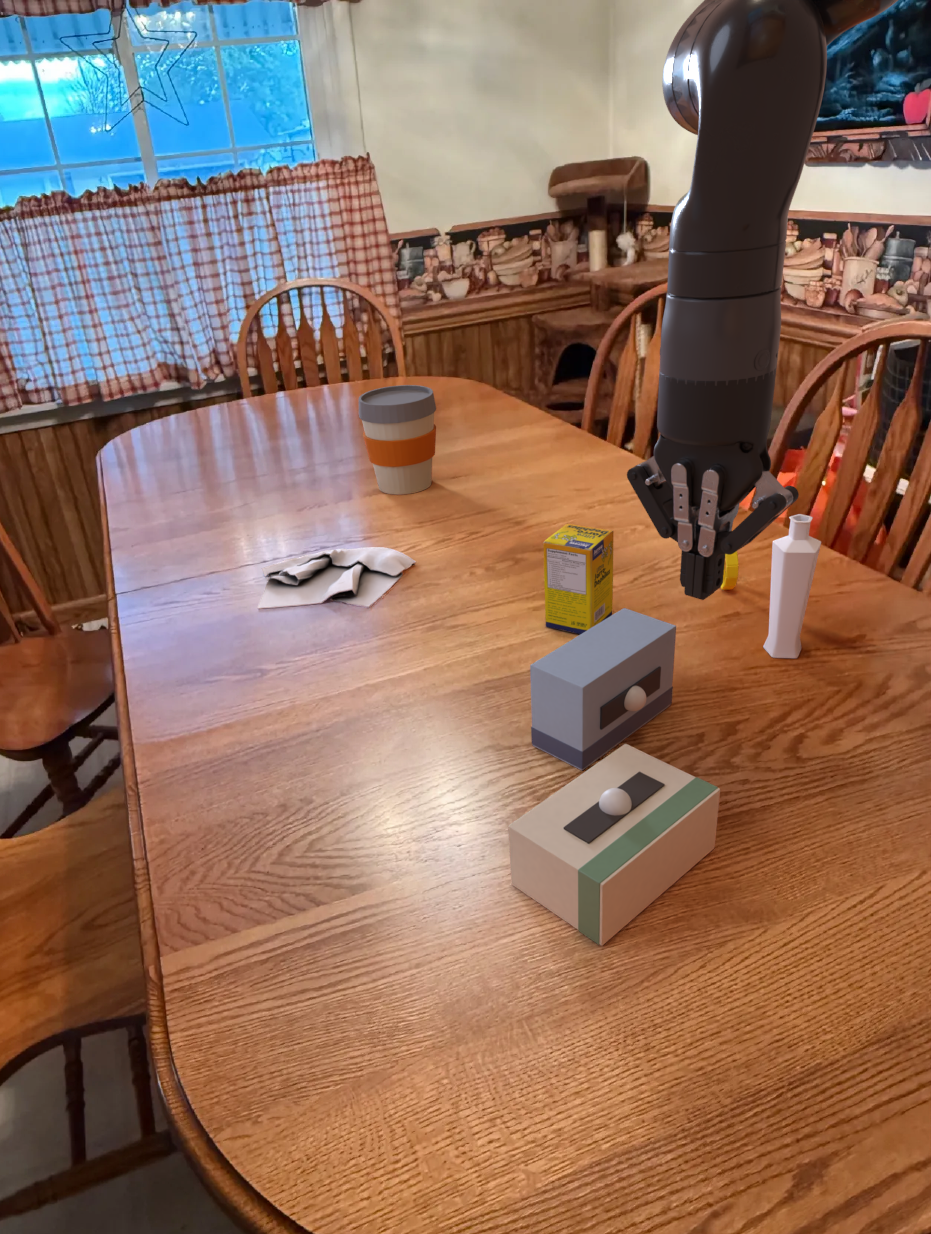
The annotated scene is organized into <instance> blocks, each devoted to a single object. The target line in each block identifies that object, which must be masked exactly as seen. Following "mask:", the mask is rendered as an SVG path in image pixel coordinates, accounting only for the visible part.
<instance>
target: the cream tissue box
mask: <svg viewBox="0 0 931 1234" xmlns="http://www.w3.org/2000/svg"><path fill="white" fill-rule="evenodd" d="M720 796H721V788H720V787H718V786H717V785H714V784H712V783H710V782H709V781H706V780H704V779H702V778H700V777H698V776H694V775H692V774H690V773H688V772H686V771H684V770H681V769H679V768H677V767H675V766H674V765H671V764H669V763H667V762H666V761H663V760H661V759H659V758H656V757H654V756H653V755H650V754H648V753H646V752H644V751H642V750H640V749H638V748H636V747H633V746H632V745H629V744H627V743H623V744H622V745H621V746H620V747H618V748H617V749H615V750H614V751H612V752H611V753H610V754H609V755H607V756H605V757H604V758H603V759H601V760H599V761H598V762H597V763H595V764H594V765H593V766H591V767H590V768H589V769H587V770H586V771H584V772H582V773H581V774H580V775H578V776H577V777H576V778H574V779H572V780H571V781H570V782H568V783H567V784H565V785H564V786H563V787H561V788H560V789H559V790H556V791H555V792H554V793H553V794H551V795H549V796H548V797H547V798H545V799H544V800H543V801H541V802H539V804H536V805H535V806H534V807H533V808H531V809H530V810H528V811H527V812H526V813H524V814H522V815H521V816H520V817H518V818H517V819H516V820H514V821H512V822H511V823H510V824H508V825H507V835H508V850H509V851H508V852H509V853H508V854H509V868H510V870H509V871H510V883H511V885H512V886H513V887H515V888H516V889H517V890H519V891H521V892H522V893H523V894H525V895H526V896H528V897H529V898H531V900H534V901H535V902H537V903H538V904H539V905H541V906H543V907H544V908H545V909H546V910H548V911H550V912H551V913H553V914H554V915H556V916H557V917H558V918H560V919H561V920H563V921H564V922H566V923H567V924H569V925H570V926H571V927H573V928H574V929H576V930H577V931H578V932H579V933H580V934H582V935H584V936H585V937H586V938H588V939H589V940H591V941H592V942H593V943H595V944H596V945H598V946H601V947H603V946H604V945H605V944H606V943H607V942H609V941H610V940H611V939H612V938H613V937H614V936H615V935H616V934H618V933H619V932H620V931H621V930H622V929H623V928H625V926H627V925H628V924H630V923H631V921H633V920H634V919H635V918H636V917H637V916H639V914H641V913H642V912H643V911H644V910H645V909H646V908H647V907H649V906H650V905H652V903H653V902H654V901H656V900H657V899H658V898H659V897H660V896H661V895H662V894H664V893H665V892H666V891H667V890H668V889H669V888H670V887H672V886H673V885H674V884H675V883H676V882H677V881H679V880H680V879H681V878H682V877H683V876H684V875H685V874H687V873H688V872H689V871H690V870H691V869H692V868H694V867H695V866H696V865H697V864H698V863H699V862H700V861H701V860H702V859H704V858H705V857H706V856H707V855H708V854H709V853H710V852H712V851H713V850H714V849H715V848H716V840H717V839H716V838H717V828H718V827H717V826H718V819H719V817H718V816H719V807H720V798H721V797H720Z"/></svg>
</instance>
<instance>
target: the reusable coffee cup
mask: <svg viewBox="0 0 931 1234" xmlns="http://www.w3.org/2000/svg"><path fill="white" fill-rule="evenodd" d="M436 411H437V405H436V400H435V394H434V390H433V389H432V388H431V387H428V386H424V385H417V384H403V385H401V384H400V385H391V386H384V387H379V388H375V389H372V390H368V391H365V392H364V393H362V394H361V395H359V396H358V418H359V419H360V420H361V423H362V426H363V430H364V431H363V432H362V436H363V440H364V444H365V445H364V446H365V448H366V453H367V456H368V460H369V462H370V463H371V464H372V466H373V470H374V474H375V478H376V482H377V486H378V490H379V491H380V492H381V493H384V494H389V495H411V494H416V493H419V492H422V491H424V490H426V489H428V488H430V487H431V485H432V482H433V481H432V480H433V479H432V478H433V458H434V456H435V455H436V440H437V439H436V438H437V426H436V424H435V412H436Z"/></svg>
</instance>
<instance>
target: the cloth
mask: <svg viewBox="0 0 931 1234" xmlns="http://www.w3.org/2000/svg"><path fill="white" fill-rule="evenodd" d="M416 564H417V561H416V560H415V559H413V558H412V557H410V556H409V555H407V554H405V553H403V552H402V551H399V550H397V549H394V548H390V547H384V546H375V547H374V546H370V547H367V546H366V547H365V546H363V547H362V546H361V547H358V548H349V549H348V548H336V549H326V550H321V551H318V552H316V553H310V554H304V555H302V556H299V557H294V558H287V559H285V560H282V561H279V562H277V563H272V564H270V565H267V566H265V567H261V571H262V574H263V575H264V578H266V577H267V576H270V578H268V579H267V581H266V584H265V587H264V590H263V592H262V595H261V597H260V600H259V602H258V605H257V610H263V609H276V608H286V607H299V606H312V605H319V604H323V603H324V602H325V601H327V600H329V601H332V602H336V603H337V602H338V603H344V604H347V605H351V606H357V607H364V608H370V607H372V606H373V605H374V604H375V603H376V602H377V601H378V600H379V599H380V598H382V597H383V596H384V595H385V594H386V593H387V592H388V591H389V590H390V589H392V587H393V586H394V585H396V584H397V582H399V580H400V579H402V577H403V574H404V573H403V571H406V570H408V569H409V568H411V567H413V566H415V565H416ZM329 598H330V599H329Z"/></svg>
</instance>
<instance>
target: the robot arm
mask: <svg viewBox="0 0 931 1234" xmlns="http://www.w3.org/2000/svg"><path fill="white" fill-rule="evenodd" d="M898 1H899V0H703V1H702V2H701V3H700V4H699V5H698V6H697V7H696V8H695V9H694V10H693V11H692V13H690V15H689V16H688V17H687V18H686V20H685V21H684V22H683V23H682V25H681V26H680V27H679V29H678V30H677V32H676V34H675V36H674V37H673V39H672V41H671V43H670V45H669V49H668V50H667V54H666V56H665V60H664V64H663V69H662V77H661V78H662V79H661V83H662V84H661V87H662V95H663V100H664V103H665V105H666V108H667V111H668V112H669V114H670V116H671V117H672V119H673V120H674V121H675V122H676V124H677V125H679V127H681V128H683V130H685V131H687V132H689V133H691V134H693V135H695V136H697V139H696V146H695V154H694V161H693V169H692V175H691V181H690V186H689V189H688V191H687V192H686V193H685V194H684V195H682V196H681V197H680V198H679V199H678V200H677V203H676V204H675V206H674V208H673V212H672V214H671V215H672V216H671V219H670V220H671V221H670V222H671V223H670V228H669V240H668V265H667V282H666V283H667V284H666V285H667V286H666V287H667V288H666V296H665V297H666V298H665V306H664V312H663V317H662V322H661V331H660V347H659V372H658V393H657V395H658V396H657V417H656V421H657V422H656V427H657V431H658V433H659V437H658V440H657V442H656V443H655V444H654V447H653V456H651V457H649V458H648V459H646V460H644V461H642V462H640V463H638V464H636V465H634V466H633V467H631V468H629V469H628V470H627V472H626V478H627V480H628V482H629V483H630V485H631V487H632V490H633V491H634V493H635V494H636V496H637V498H638V500H639V502H640V503H641V505H642V507H643V508H644V510H645V512H646V514H647V515H648V517H649V520H650V521H651V523H652V525H653V526H654V528H655V529H656V531H657V534H658V535H659V536H660V537H661V538H662V539H669V538H670V539H672V540H673V541H675V542H676V543H677V545H678V548H679V549H680V550H681V553H680V554H681V556H680V569H679V571H680V573H679V582H680V586H681V587H683V588H684V590H683V591H684V595H685V596H687V597H691V598H694V599H697V600H701V601H704V600H706V599H707V598H709V597H711V596H712V595H713V594H715V592H716V591H718V590H719V589H721V585H722V583H723V575H724V564H725V565H726V558H725V554H728V555H731V554H733V553H735V552H736V551H737V552H738V551H739V550H741V549H742V548H744V547H745V546H747V545H748V544H750V543H751V542H752V541H754V540H755V539H756V538H758V536H759V535H760V534H761V533H763V531H765V530H766V529H767V528H768V527H769V526H770V525H771V524H772V523H774V522H775V521H776V520H777V519H778V518H779V517H780V516H781V515H783V513H784V512H786V511H787V510H788V509H789V508H790V507H791V506H792V505H793V504H794V503H796V502H797V501H798V499H799V496H800V494H799V493H800V492H799V490H798V489H797V487H795V486H793V485H786V486H784V485H782V484H781V483H780V482H779V480H778V479H777V478H776V477H775V476H774V475H773V474H772V473H771V471H770V470H771V468H772V459H771V456H770V454H769V451H768V446H767V440H768V436H769V433H770V429H771V423H772V413H773V405H774V396H775V387H776V386H775V385H776V376H777V368H778V359H779V351H780V342H781V341H780V340H781V332H782V300H781V299H782V284H783V276H784V265H785V257H786V249H787V241H786V240H787V239H788V238H787V236H788V222H789V221H788V219H789V211H790V208H791V204H792V202H793V198H794V196H795V193H796V190H797V188H798V185H799V182H800V179H801V176H802V173H803V171H804V167H805V163H806V160H807V156H808V152H809V149H810V146H811V142H812V138H813V135H814V132H815V129H816V125H817V121H818V118H819V114H820V109H821V106H822V102H823V98H824V97H823V96H824V92H825V86H826V85H825V84H826V77H827V67H828V65H827V64H828V47H827V46H829V45H830V44H831V43H832V42H833V41H835V40H836V39H837V38H838V37H839V36H841V35H842V34H843V33H845V32H846V31H848V30H850V29H851V28H853V27H855V26H858V25H859V24H861V23H864V22H866V21H868V20H871V19H872V18H875V17H877V16H878V15H880V14H882V13H883V12H885V11H886V10H888V9H889V8H890V7H892V6H893V5H895V4H896V3H897V2H898ZM754 489H755V494H754V496H753V497H752V503H751V507H752V508H753V509H754V510H752V511H751V513H750V514H749V515H748V516H747V517H746V518H744V519H743V520H742V521H741V522H740V523H739V524H738V525H737V526H736V527H735V528H734V529H733V525H734V521H735V519H736V518H737V516H738V513H739V508H740V504H741V503H742V502H743V501H744V500H745V499H746V498H747V497H748V496H749V495H750V494H751V492H752V491H753V490H754Z"/></svg>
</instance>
